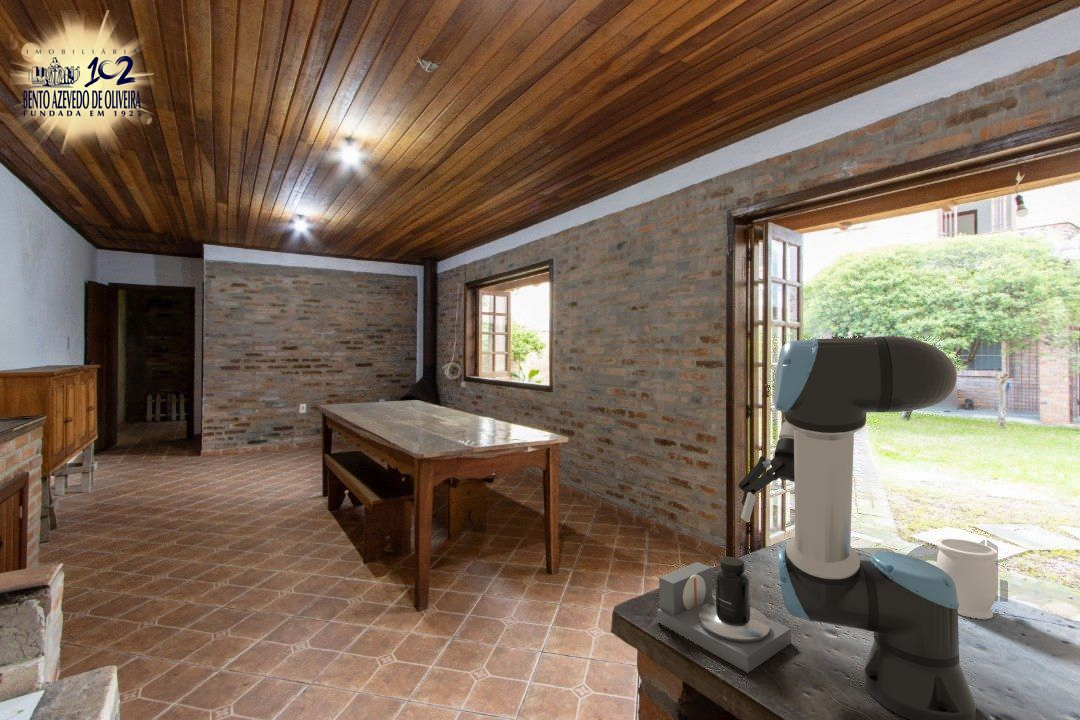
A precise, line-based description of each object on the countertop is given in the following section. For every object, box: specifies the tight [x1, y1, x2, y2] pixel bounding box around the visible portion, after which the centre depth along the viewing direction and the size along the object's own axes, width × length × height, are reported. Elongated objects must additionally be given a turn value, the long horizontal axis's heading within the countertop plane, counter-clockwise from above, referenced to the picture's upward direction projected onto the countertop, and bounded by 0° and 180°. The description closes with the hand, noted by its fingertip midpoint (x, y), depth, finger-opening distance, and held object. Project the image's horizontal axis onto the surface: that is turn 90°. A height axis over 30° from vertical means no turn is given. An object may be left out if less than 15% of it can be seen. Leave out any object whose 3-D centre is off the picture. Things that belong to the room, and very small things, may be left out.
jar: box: [936, 538, 999, 620], centre depth 109 cm, size 11×10×15 cm
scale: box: [656, 561, 792, 674], centre depth 102 cm, size 22×16×10 cm
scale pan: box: [699, 602, 770, 643], centre depth 100 cm, size 14×14×1 cm
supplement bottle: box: [715, 556, 751, 625], centre depth 100 cm, size 7×7×12 cm
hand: (772, 527), depth 107 cm, fingers open, 13 cm apart
